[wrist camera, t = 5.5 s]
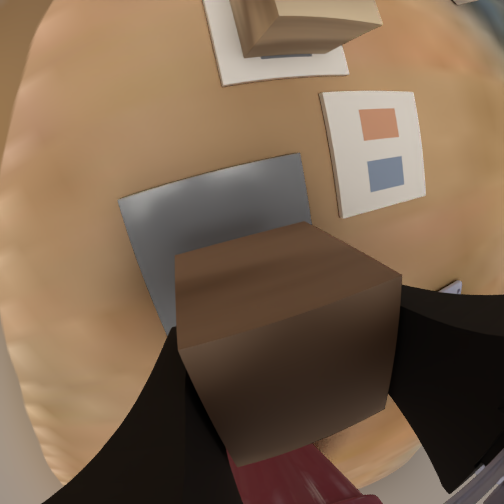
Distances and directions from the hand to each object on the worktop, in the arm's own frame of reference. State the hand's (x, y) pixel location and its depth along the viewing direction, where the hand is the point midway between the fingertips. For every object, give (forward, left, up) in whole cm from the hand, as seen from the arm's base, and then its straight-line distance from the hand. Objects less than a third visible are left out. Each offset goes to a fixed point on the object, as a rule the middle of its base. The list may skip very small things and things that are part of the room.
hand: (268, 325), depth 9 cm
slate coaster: (0, 0, -6) cm, 6 cm away
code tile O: (+12, -5, -6) cm, 15 cm away
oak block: (+12, -5, -6) cm, 14 cm away
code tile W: (+4, -10, -6) cm, 13 cm away
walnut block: (0, 0, -2) cm, 2 cm away
